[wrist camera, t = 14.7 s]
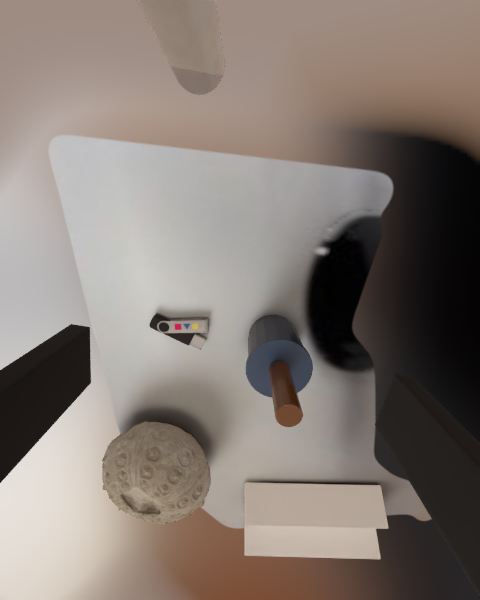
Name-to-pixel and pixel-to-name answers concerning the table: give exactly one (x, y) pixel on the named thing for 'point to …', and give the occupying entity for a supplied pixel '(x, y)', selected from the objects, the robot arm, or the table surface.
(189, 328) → the usb flash drive
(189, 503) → the decorative shell
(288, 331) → the tin
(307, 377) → the lid
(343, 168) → the table surface
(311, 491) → the z bracket
